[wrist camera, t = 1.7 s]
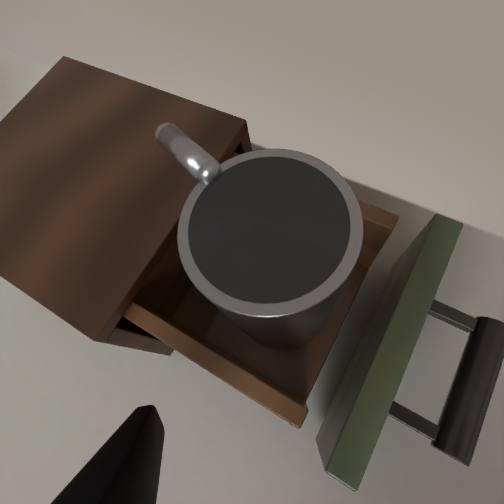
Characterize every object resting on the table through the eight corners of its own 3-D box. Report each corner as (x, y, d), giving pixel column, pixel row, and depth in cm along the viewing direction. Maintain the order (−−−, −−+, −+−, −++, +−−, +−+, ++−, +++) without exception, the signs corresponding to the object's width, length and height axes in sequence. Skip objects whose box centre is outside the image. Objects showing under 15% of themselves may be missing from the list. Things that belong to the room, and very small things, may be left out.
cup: (353, 297, 19) (411, 211, 9) (281, 372, 18) (262, 362, 8) (251, 207, 22) (215, 73, 12) (185, 266, 21) (90, 170, 12)
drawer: (479, 300, 19) (567, 261, 13) (408, 499, 16) (479, 575, 10) (242, 197, 24) (223, 132, 18) (154, 336, 21) (92, 317, 15)
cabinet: (263, 204, 24) (246, 119, 17) (170, 356, 21) (93, 341, 13) (128, 145, 28) (63, 55, 20) (32, 266, 25) (-90, 213, 17)
